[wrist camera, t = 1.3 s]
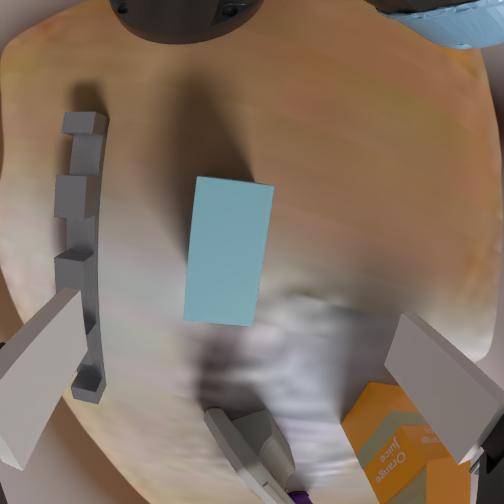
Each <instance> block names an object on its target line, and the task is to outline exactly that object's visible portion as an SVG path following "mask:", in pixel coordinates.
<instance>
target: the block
mask: <svg viewBox="0 0 504 504" xmlns="http://www.w3.org/2000/svg"><path fill="white" fill-rule="evenodd" d="M273 192H274V186H271V185H266V184H261V183H257V182H250V181H243V180H235V179H228V178H219V177H211V176H197V181H196V189H195V197H194V206H193V215H192V224H191V233H190V243H189V254H188V265H187V277H186V290H185V304H184V320H187V321H196V322H206V323H217V324H228V325H240V326H253V321H254V315H255V309H256V303H257V296H258V290H259V284H260V277H261V271H262V264H263V258H264V252H265V245H266V238H267V232H268V225H269V219H270V212H271V205H272V199H273Z"/></svg>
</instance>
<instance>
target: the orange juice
mask: <svg viewBox="0 0 504 504" xmlns="http://www.w3.org/2000/svg"><path fill="white" fill-rule="evenodd" d="M341 426H342V428H343V430H344V432H345V434H346V436H347V438H348V440H349V442H350V444H351V446H352V448H353V450H354V452H355V454H356V457H357V459H358V461H359V463H360V465H361V467H362V469H363V470H364V472H365V474H366V476H367V478H368V480H369V482H370V484H371V486H372V488H373V490H374V492H375V494H376V497H377V499H378V501H379V503H380V504H470V481H471V480H470V479H471V478H470V473H469V471H470V460H468V461H466V462H463V463H461V464H459V465H458V464H457V463H456V461H455V460H454V458H453V457H452V456H451V454H450V453H449V451H448V450H447V449H446V447H445V446H444V444H443V443H442V442H441V440H440V439H439V438H438V436H437V435H436V433H435V432H434V431H433V429H432V428H431V427H430V425H429V424H428V423H427V421H426V420H425V419H424V417H423V416H422V415H421V413H420V412H419V411H418V409H417V408H416V407H415V405H414V404H413V403H412V401H411V400H410V399H409V397H408V396H407V395H406V393H405V392H404V391H403V389H402V388H401V387H400V386H397V385H390V384H383V383H376V382H369V383H368V384H367V386H366V387H365V389H364V390H363V392H362V393H361V395H360V396H359V398H358V399H357V401H356V402H355V404H354V405H353V407H352V408H351V410H350V411H349V413H348V414H347V415H346V417H345V418H344V420H343V421H342V422H341Z"/></svg>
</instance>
